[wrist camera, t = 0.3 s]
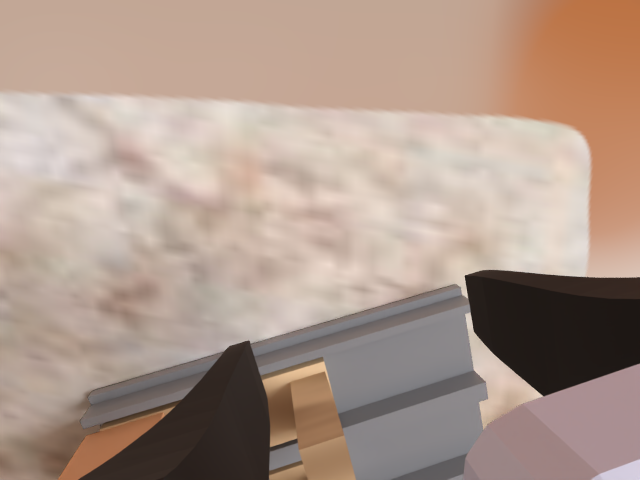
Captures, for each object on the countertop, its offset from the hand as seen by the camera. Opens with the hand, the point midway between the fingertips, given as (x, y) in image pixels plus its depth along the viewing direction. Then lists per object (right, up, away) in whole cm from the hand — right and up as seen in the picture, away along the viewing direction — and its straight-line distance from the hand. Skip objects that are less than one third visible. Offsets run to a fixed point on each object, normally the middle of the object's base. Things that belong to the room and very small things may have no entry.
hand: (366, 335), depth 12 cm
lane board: (-2, -8, +12) cm, 14 cm away
